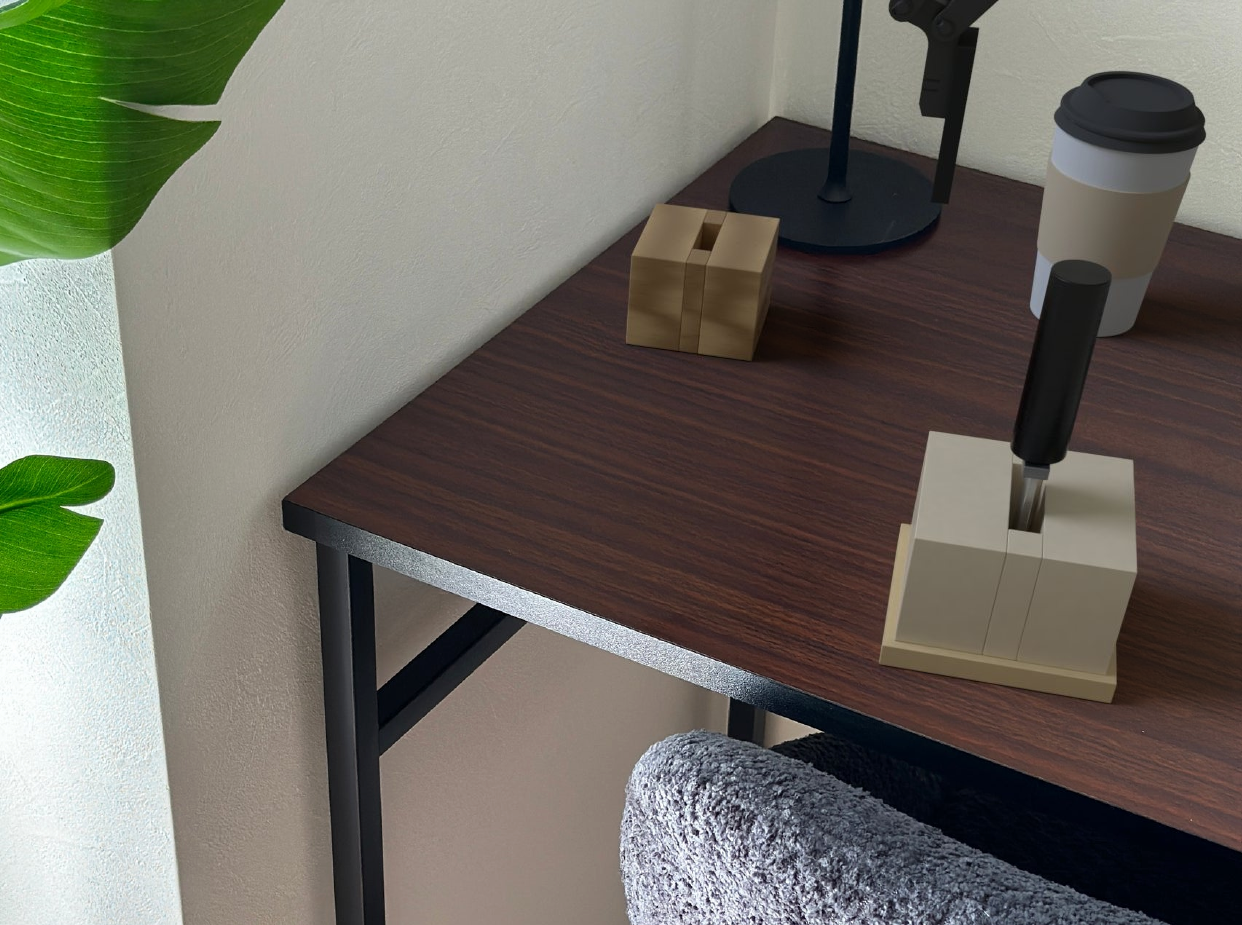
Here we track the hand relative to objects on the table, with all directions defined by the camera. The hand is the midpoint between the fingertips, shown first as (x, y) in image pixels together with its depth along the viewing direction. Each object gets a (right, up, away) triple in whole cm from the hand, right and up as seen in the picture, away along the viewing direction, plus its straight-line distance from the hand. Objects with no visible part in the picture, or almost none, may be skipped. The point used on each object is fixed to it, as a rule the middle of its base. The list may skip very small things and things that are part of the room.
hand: (1103, 210), depth 73 cm
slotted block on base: (-1, -17, +14) cm, 22 cm away
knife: (-1, -16, +13) cm, 20 cm away
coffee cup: (+12, +5, +40) cm, 42 cm away
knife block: (-14, +4, +37) cm, 40 cm away
